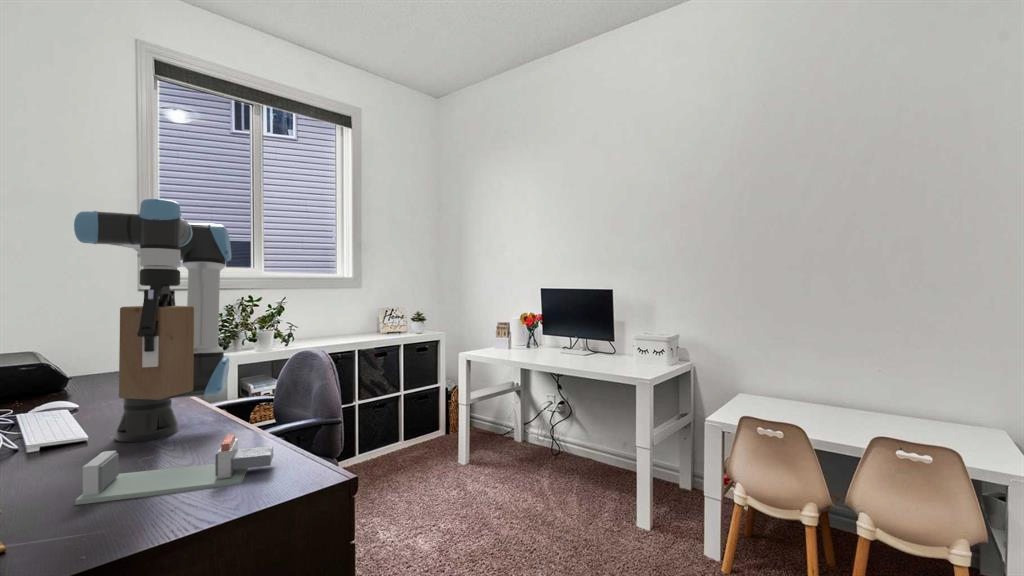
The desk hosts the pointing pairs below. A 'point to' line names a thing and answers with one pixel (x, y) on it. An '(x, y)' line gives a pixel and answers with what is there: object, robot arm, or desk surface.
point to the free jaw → (239, 457)
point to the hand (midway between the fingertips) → (159, 362)
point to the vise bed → (145, 480)
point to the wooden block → (173, 354)
